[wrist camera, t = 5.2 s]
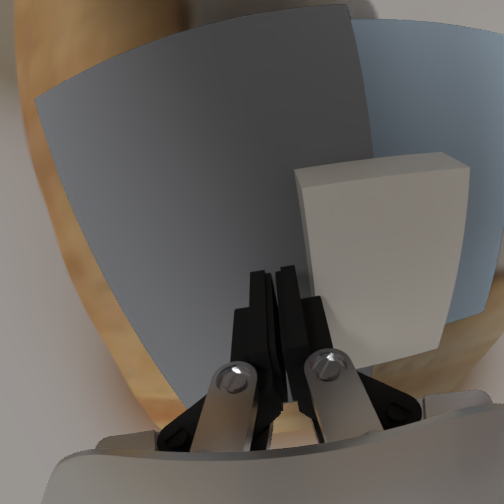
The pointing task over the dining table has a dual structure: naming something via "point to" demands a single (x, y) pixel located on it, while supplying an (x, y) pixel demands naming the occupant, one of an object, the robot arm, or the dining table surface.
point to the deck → (205, 169)
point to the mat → (443, 124)
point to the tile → (384, 250)
